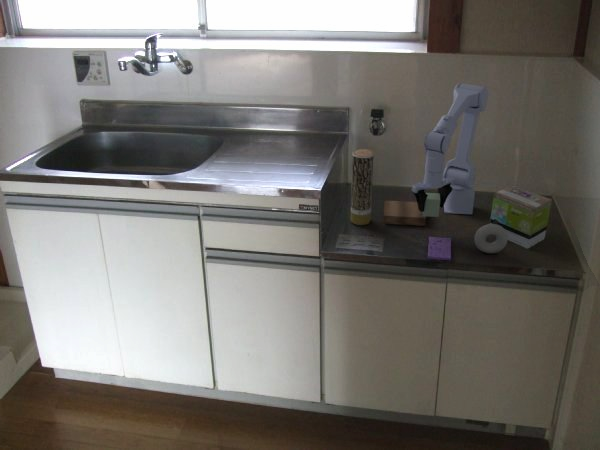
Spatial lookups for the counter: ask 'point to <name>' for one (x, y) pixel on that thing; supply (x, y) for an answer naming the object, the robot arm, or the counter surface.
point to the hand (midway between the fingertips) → (430, 208)
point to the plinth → (403, 213)
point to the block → (432, 205)
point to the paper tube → (361, 186)
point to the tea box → (521, 215)
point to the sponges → (439, 248)
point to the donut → (491, 230)
